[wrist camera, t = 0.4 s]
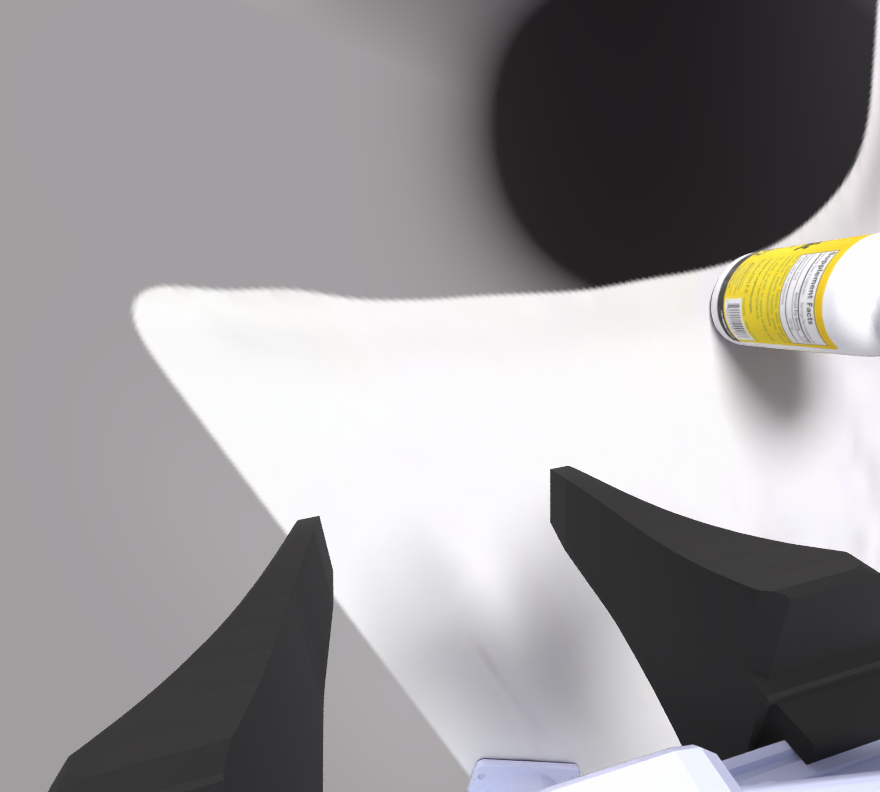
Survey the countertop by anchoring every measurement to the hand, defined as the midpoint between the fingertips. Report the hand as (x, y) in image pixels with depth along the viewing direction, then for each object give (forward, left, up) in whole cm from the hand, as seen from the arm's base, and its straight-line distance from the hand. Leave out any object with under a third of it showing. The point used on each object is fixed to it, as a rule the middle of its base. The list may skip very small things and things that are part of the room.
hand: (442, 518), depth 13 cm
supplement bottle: (+12, -18, -11) cm, 24 cm away
